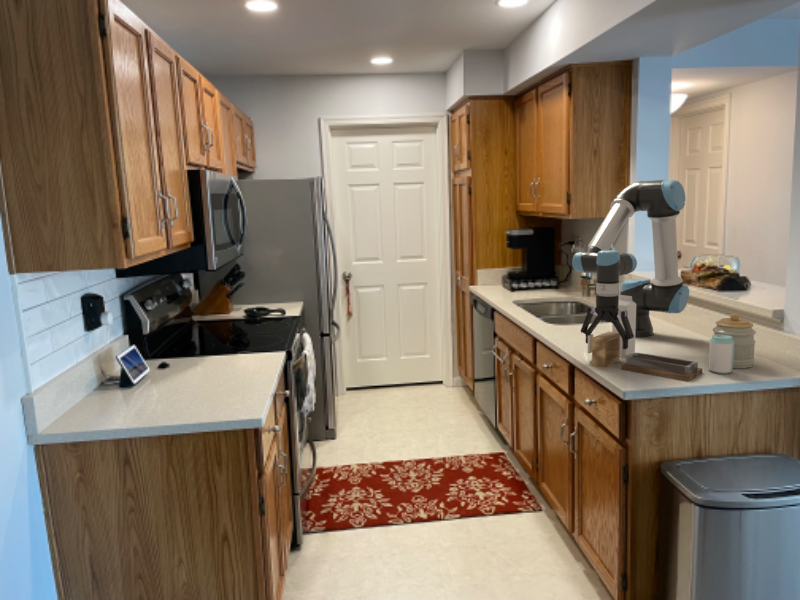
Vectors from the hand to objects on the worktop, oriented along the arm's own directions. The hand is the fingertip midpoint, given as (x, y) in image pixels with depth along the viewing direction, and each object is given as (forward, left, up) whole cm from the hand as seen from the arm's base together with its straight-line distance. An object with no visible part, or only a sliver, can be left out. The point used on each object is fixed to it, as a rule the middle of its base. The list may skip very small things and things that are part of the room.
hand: (606, 355), depth 211 cm
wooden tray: (-1, +19, -3) cm, 19 cm away
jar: (-24, +34, -3) cm, 42 cm away
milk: (-16, -1, -3) cm, 16 cm away
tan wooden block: (0, 0, -3) cm, 3 cm away
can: (-12, +34, -3) cm, 36 cm away
